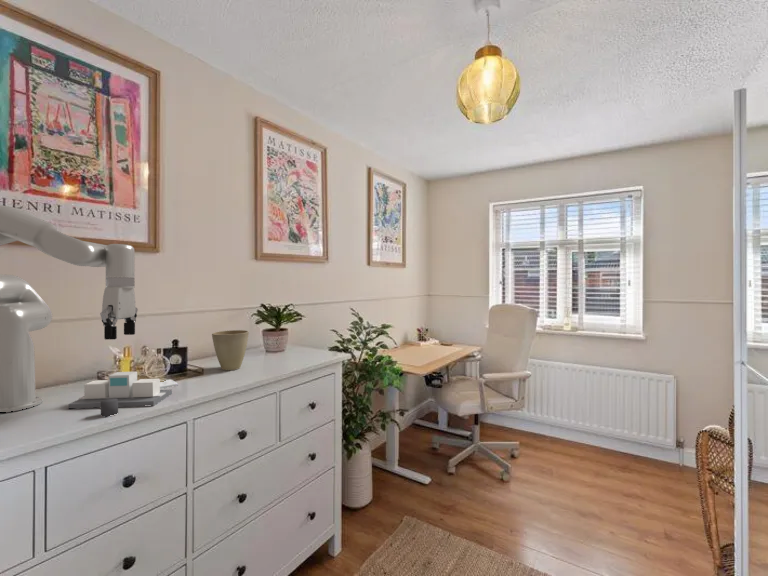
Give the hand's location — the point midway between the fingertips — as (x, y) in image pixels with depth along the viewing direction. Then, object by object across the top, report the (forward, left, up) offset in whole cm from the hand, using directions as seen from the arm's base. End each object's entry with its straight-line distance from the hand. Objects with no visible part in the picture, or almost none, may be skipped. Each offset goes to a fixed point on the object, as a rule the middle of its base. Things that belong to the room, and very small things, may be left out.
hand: (120, 336), depth 117 cm
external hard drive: (+3, +15, -21) cm, 26 cm away
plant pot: (+22, +41, -21) cm, 51 cm away
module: (+1, 0, -19) cm, 19 cm away
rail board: (+1, 0, -21) cm, 21 cm away
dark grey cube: (+4, -12, -21) cm, 24 cm away
